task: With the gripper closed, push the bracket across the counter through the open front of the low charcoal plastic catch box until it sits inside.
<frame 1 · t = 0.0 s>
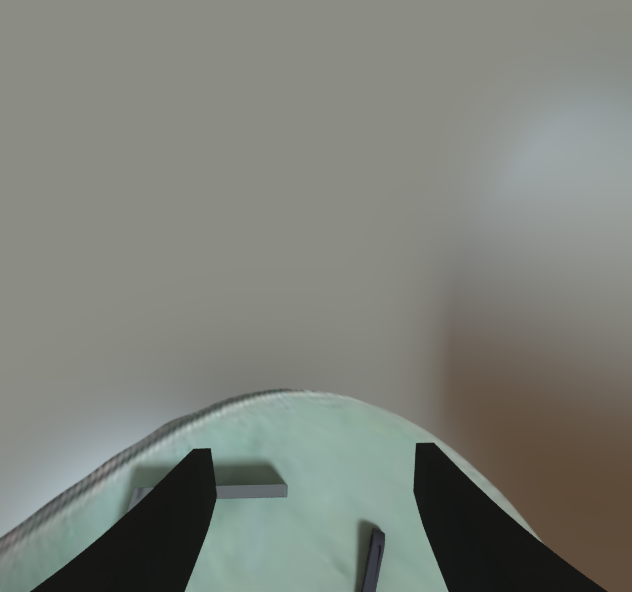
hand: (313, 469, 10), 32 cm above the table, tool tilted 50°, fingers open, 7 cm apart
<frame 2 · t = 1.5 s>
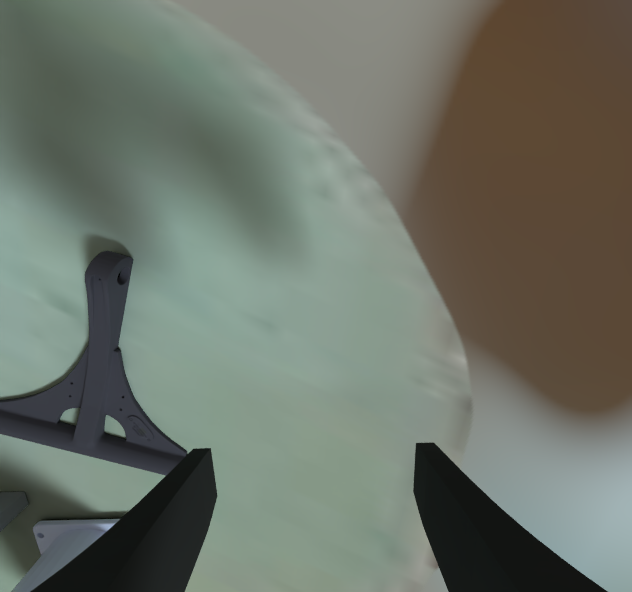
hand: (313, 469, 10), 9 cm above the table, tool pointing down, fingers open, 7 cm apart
bracket: (115, 355, 20), on the table
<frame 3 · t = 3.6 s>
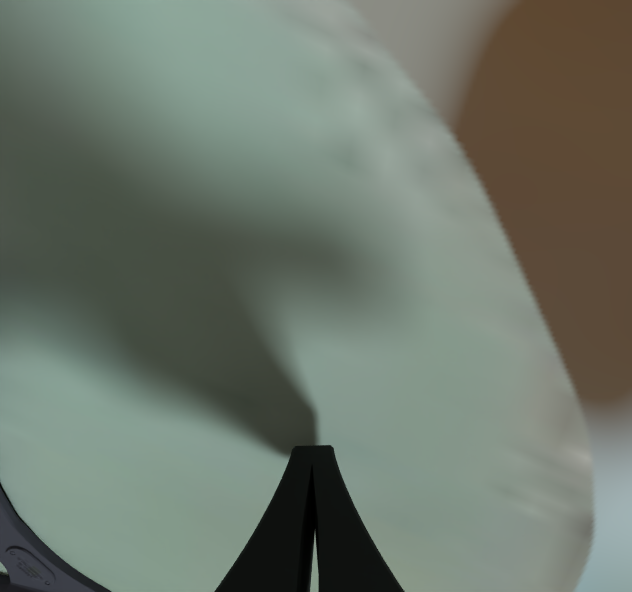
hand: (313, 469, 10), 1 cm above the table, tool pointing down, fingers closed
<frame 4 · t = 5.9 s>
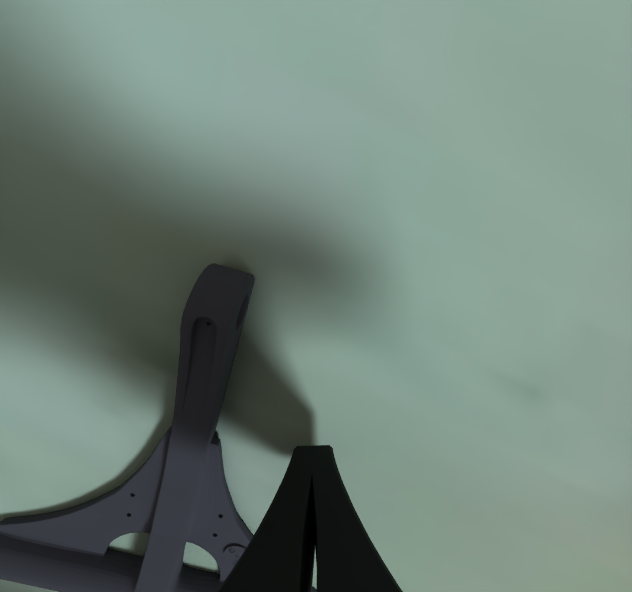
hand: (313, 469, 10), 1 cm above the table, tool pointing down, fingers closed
bracket: (202, 439, 12), on the table, touching gripper
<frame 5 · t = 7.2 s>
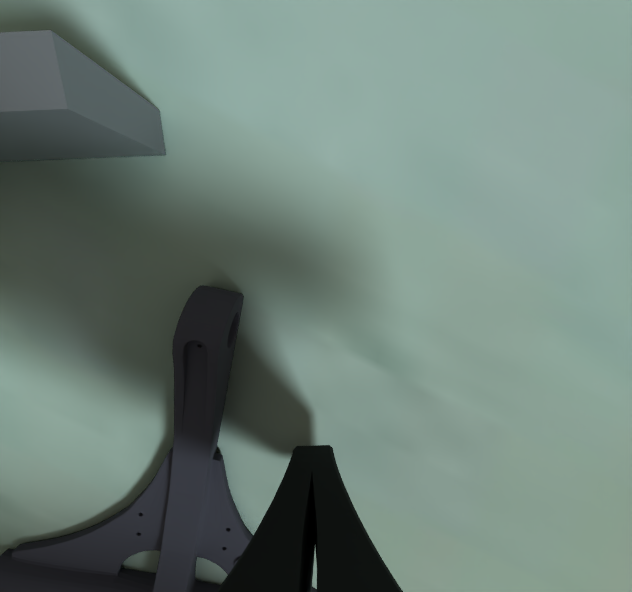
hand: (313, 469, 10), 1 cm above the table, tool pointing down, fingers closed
bracket: (206, 454, 12), on the table
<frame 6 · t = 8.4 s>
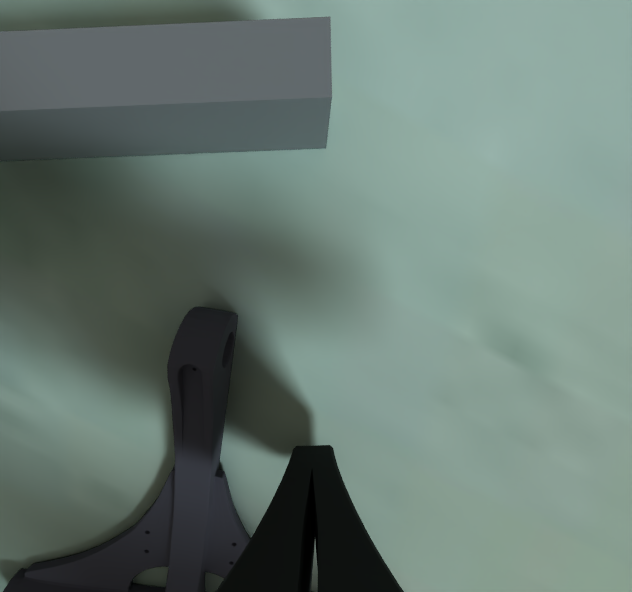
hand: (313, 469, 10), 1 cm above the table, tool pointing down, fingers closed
catch box: (108, 456, 11), on the table
bracket: (209, 470, 12), on the table
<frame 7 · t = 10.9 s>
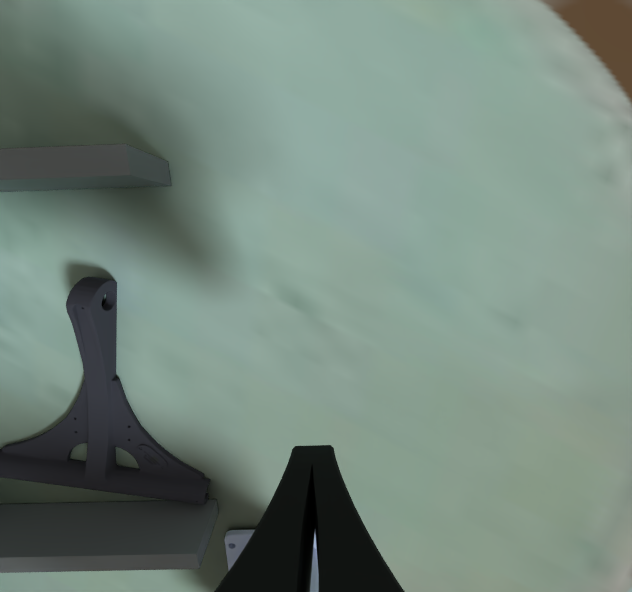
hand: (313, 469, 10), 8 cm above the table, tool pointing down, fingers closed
catch box: (60, 368, 18), on the table
bracket: (116, 383, 19), on the table
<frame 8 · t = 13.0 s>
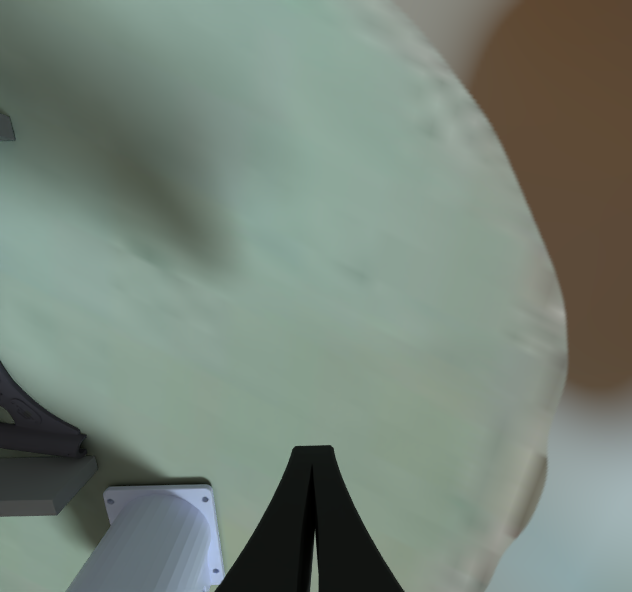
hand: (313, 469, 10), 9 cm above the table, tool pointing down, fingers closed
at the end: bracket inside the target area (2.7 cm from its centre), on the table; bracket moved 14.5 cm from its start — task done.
